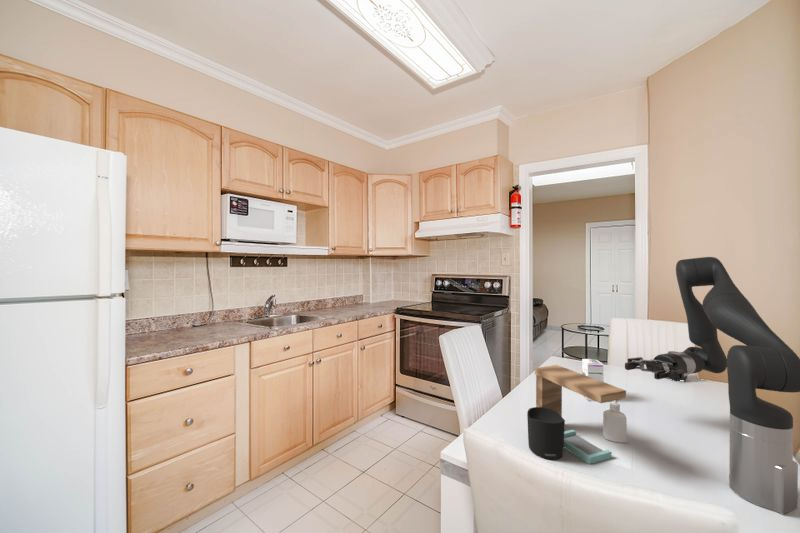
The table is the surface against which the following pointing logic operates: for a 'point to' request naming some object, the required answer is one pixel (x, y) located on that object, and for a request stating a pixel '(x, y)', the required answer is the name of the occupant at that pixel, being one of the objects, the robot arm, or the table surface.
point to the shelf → (570, 387)
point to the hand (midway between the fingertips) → (640, 370)
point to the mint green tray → (584, 448)
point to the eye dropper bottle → (615, 424)
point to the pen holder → (545, 432)
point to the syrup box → (592, 370)
